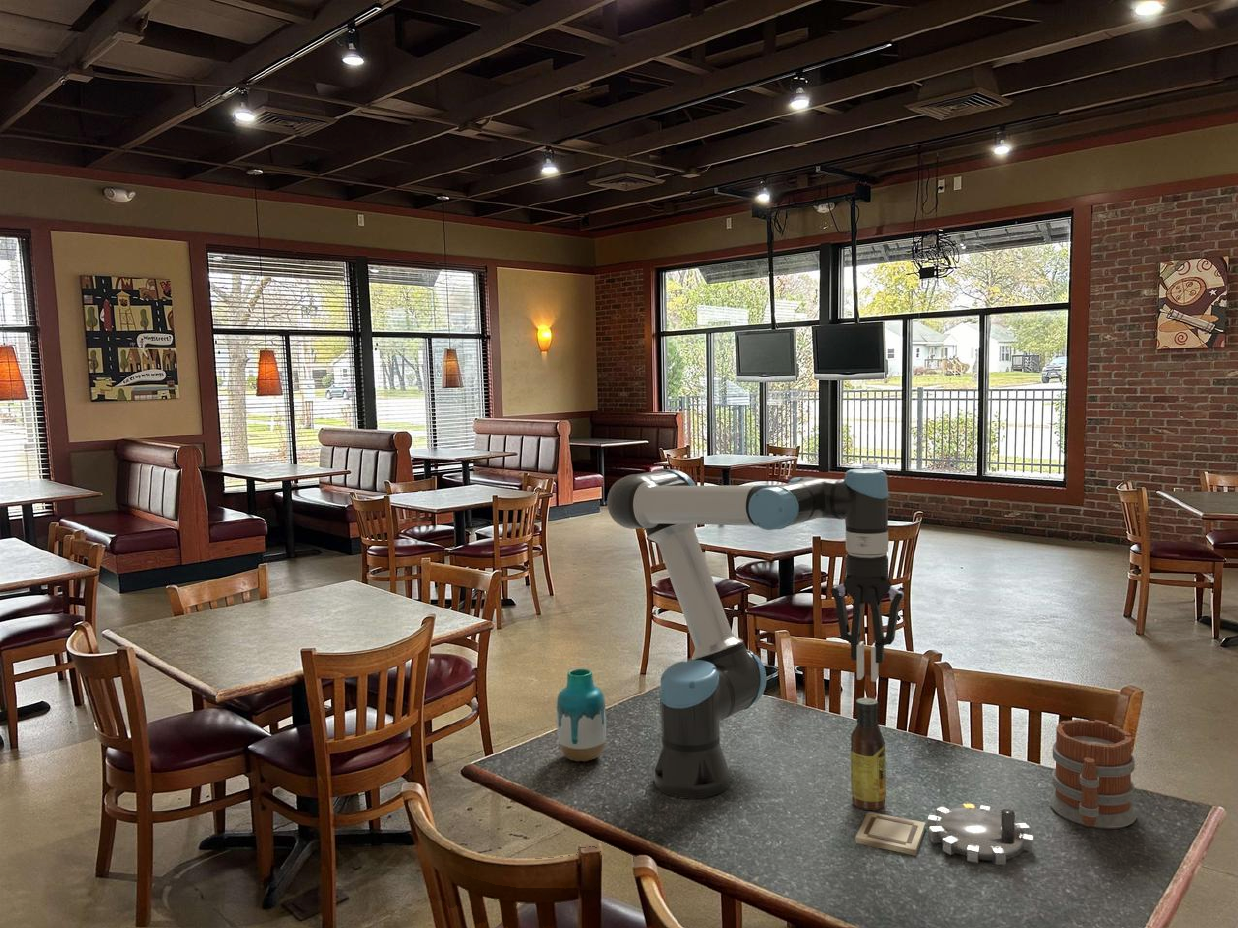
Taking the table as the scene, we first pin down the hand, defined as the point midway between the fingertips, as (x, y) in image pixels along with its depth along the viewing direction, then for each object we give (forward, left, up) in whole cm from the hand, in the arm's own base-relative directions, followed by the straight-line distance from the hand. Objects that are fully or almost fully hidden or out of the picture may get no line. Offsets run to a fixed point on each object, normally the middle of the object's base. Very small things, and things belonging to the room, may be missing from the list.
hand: (867, 677), depth 163 cm
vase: (-60, -4, -25) cm, 65 cm away
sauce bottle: (0, 0, -25) cm, 25 cm away
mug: (+37, +11, -25) cm, 46 cm away
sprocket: (+20, -6, -24) cm, 32 cm away
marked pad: (+6, -10, -24) cm, 27 cm away
